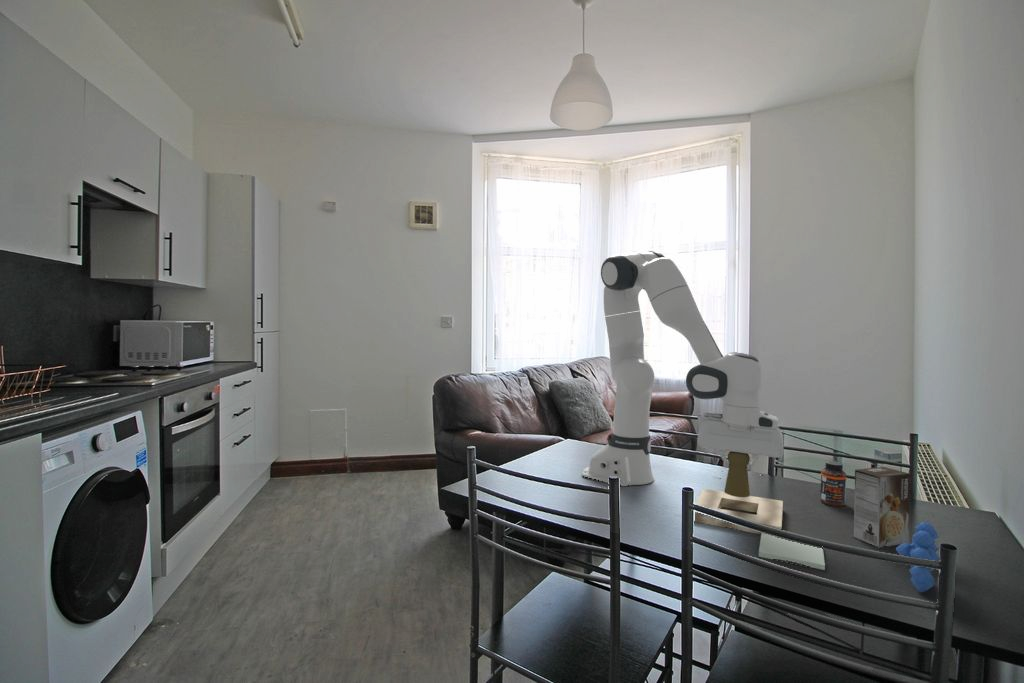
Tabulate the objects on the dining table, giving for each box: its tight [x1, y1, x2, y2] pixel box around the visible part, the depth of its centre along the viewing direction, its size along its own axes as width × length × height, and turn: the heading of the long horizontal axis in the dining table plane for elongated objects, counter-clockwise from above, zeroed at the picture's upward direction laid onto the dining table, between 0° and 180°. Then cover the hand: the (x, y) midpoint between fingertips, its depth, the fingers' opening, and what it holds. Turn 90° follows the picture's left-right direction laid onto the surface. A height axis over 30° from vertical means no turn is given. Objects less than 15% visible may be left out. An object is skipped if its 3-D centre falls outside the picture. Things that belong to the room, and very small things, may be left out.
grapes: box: [895, 521, 941, 593], centre depth 96 cm, size 12×7×12 cm, turn 135°
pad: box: [758, 533, 826, 571], centre depth 110 cm, size 12×12×1 cm
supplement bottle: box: [819, 460, 847, 507], centre depth 140 cm, size 6×6×11 cm
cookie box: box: [853, 466, 911, 548], centre depth 116 cm, size 9×6×16 cm
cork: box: [723, 451, 751, 497], centre depth 131 cm, size 6×6×11 cm
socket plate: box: [694, 488, 784, 535], centre depth 130 cm, size 20×20×2 cm
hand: (738, 469), depth 130 cm, fingers closed on cork, 4 cm apart
